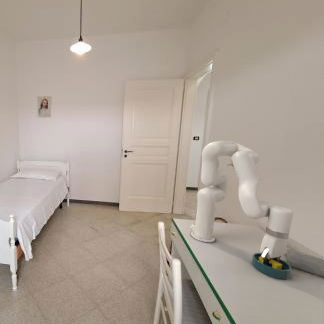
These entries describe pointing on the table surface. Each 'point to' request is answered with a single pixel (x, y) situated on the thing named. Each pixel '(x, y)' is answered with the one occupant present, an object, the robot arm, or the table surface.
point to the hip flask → (305, 262)
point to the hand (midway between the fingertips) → (269, 268)
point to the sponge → (274, 263)
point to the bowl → (270, 271)
